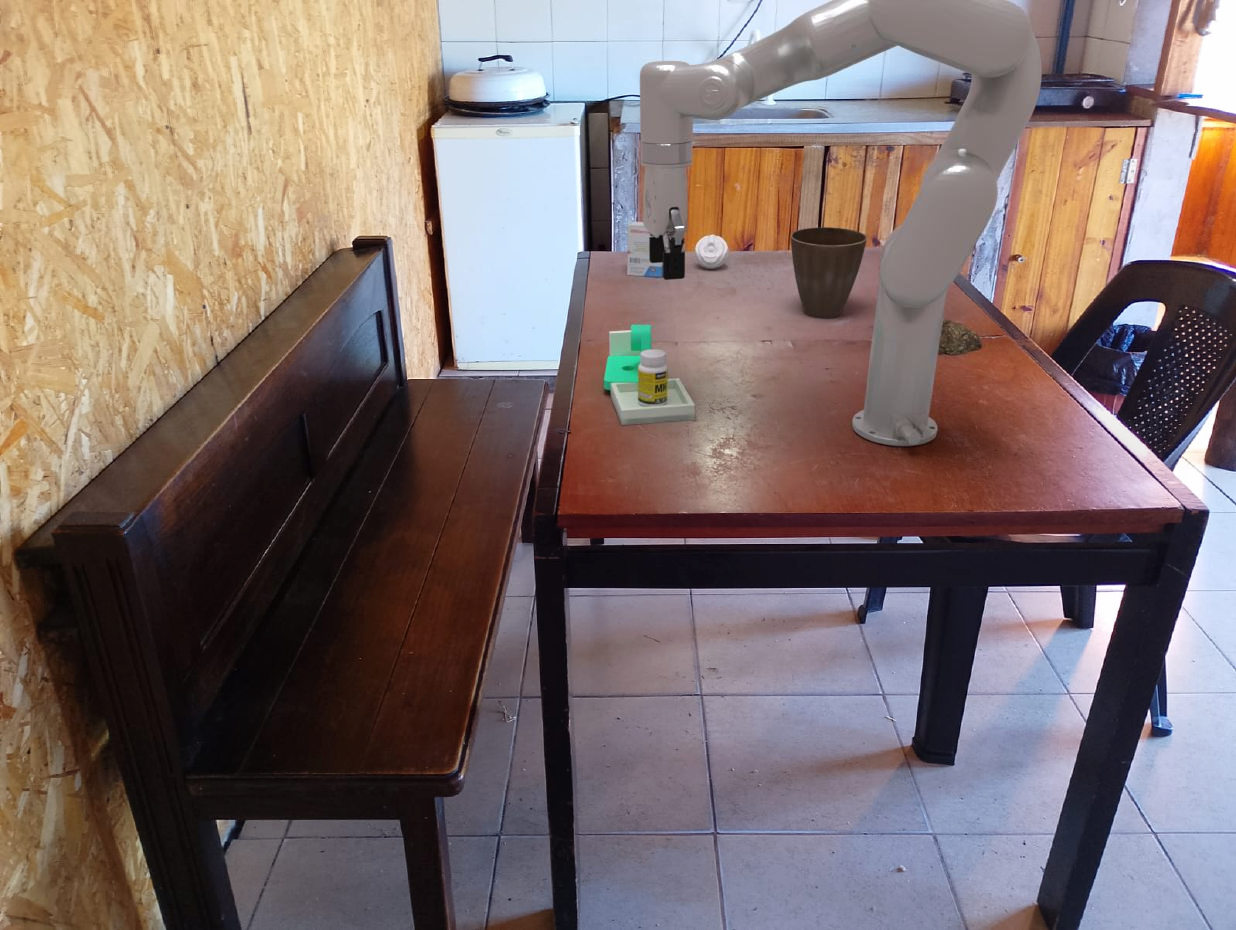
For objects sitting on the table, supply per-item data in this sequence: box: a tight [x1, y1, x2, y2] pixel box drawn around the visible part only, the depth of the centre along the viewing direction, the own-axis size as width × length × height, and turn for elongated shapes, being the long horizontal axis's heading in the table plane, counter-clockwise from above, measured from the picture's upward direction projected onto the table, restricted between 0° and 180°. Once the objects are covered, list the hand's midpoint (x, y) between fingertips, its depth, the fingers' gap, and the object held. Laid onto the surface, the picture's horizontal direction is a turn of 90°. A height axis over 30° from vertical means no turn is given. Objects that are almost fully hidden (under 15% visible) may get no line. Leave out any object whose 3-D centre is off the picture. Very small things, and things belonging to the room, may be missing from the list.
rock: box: [938, 318, 983, 356], centre depth 182 cm, size 13×12×5 cm
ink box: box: [626, 221, 663, 278], centre depth 225 cm, size 9×5×12 cm, turn 72°
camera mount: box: [603, 324, 652, 391], centre depth 164 cm, size 12×8×10 cm, turn 177°
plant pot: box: [790, 227, 868, 319], centre depth 196 cm, size 15×15×16 cm
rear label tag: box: [608, 329, 641, 356], centre depth 171 cm, size 1×6×7 cm, turn 99°
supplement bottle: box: [638, 348, 669, 407], centre depth 154 cm, size 5×5×8 cm
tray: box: [610, 377, 696, 426], centre depth 156 cm, size 12×12×2 cm
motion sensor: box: [694, 234, 729, 270], centre depth 230 cm, size 8×8×8 cm
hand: (666, 270), depth 148 cm, fingers open, 9 cm apart
